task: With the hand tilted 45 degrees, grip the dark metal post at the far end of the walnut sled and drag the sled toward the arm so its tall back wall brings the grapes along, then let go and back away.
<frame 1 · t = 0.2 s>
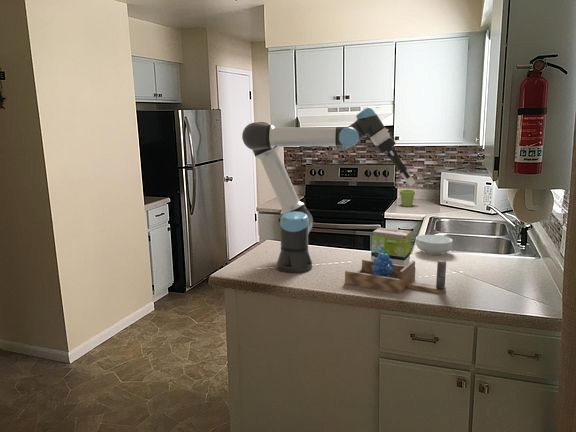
hand: (411, 182, 207), 36 cm above the worktop, tool tilted 35°, fingers open, 13 cm apart
plant pot: (406, 206, 355), on the worktop
tea box: (390, 264, 215), on the worktop
grapes: (383, 283, 190), resting in walnut sled
walnut sled: (397, 270, 186), point 6 cm above the worktop, slide at 0.0 cm
cereal bowl: (433, 253, 232), on the worktop
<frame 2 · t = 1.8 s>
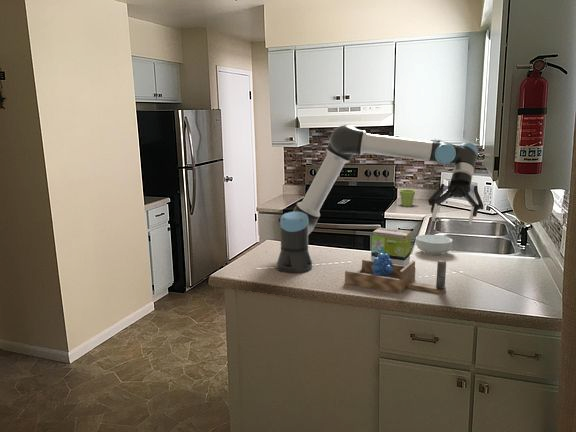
hand: (451, 221, 184), 25 cm above the worktop, tool tilted 45°, fingers open, 13 cm apart
nothing on the worktop moved.
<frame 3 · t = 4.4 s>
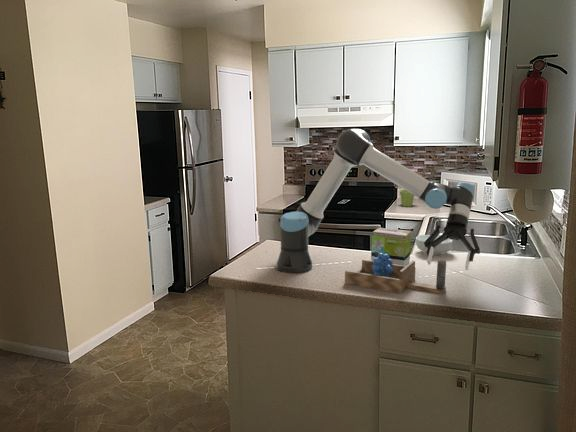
hand: (447, 265, 181), 9 cm above the worktop, tool tilted 45°, fingers open, 13 cm apart
nothing on the worktop moved.
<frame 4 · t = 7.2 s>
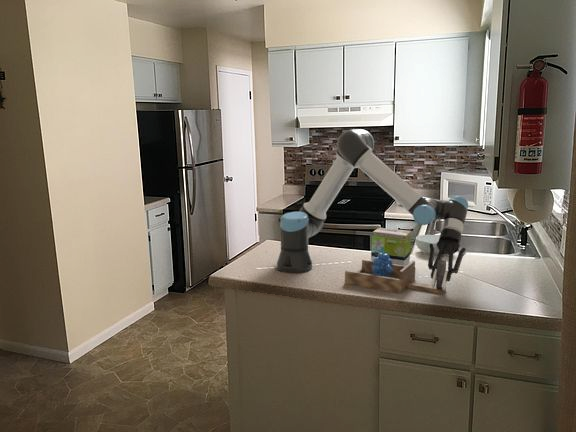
hand: (437, 287, 176), 3 cm above the worktop, tool tilted 45°, fingers closed on walnut sled, 3 cm apart
walnut sled: (397, 270, 186), point 6 cm above the worktop, slide at 0.0 cm, touching gripper
everything else where it was.
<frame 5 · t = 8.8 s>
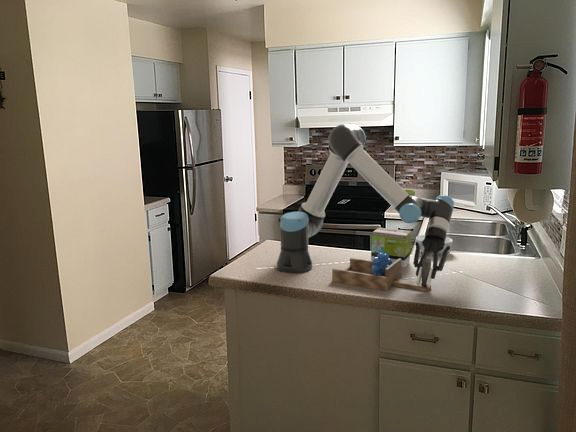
hand: (422, 284, 178), 3 cm above the worktop, tool tilted 45°, fingers closed on walnut sled, 3 cm apart
grapes: (383, 283, 190), resting in walnut sled
walnut sled: (384, 267, 189), point 6 cm above the worktop, slide at 5.4 cm, touching gripper
everything else where it was.
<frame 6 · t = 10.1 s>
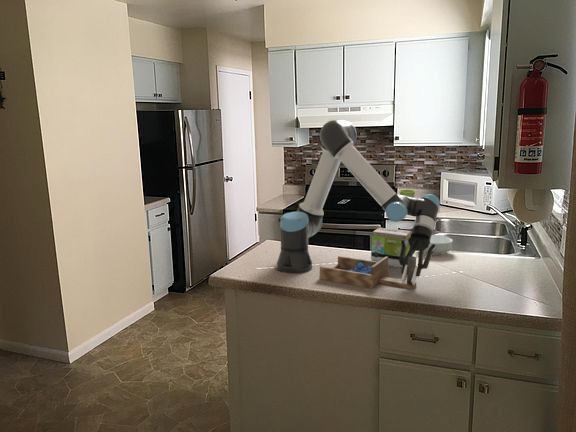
hand: (407, 282, 181), 3 cm above the worktop, tool tilted 45°, fingers closed on walnut sled, 3 cm apart
grapes: (376, 268, 195), point 4 cm above the worktop
walnut sled: (370, 265, 192), point 6 cm above the worktop, slide at 11.0 cm, touching gripper
everything else where it was.
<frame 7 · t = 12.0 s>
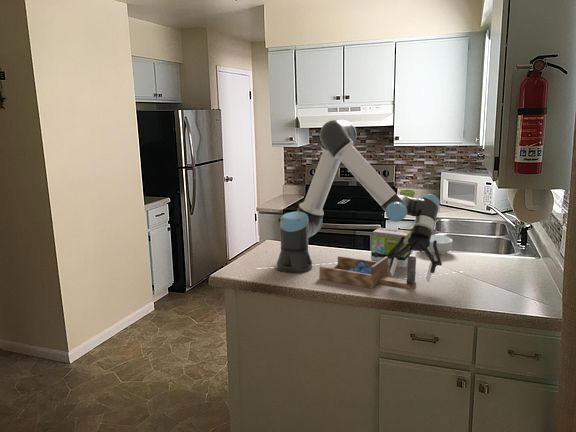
hand: (409, 277, 182), 5 cm above the worktop, tool tilted 45°, fingers open, 13 cm apart
walnut sled: (370, 265, 192), point 6 cm above the worktop, slide at 11.0 cm
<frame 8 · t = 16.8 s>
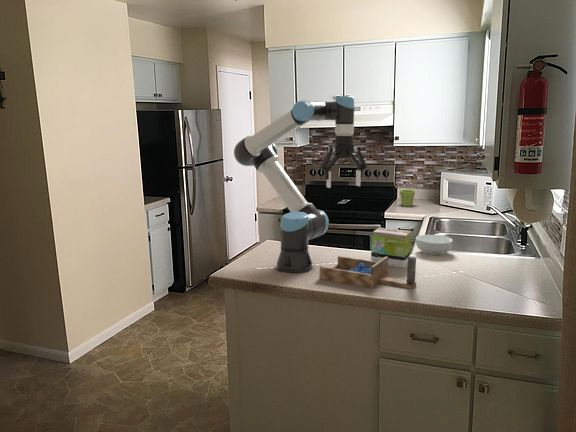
hand: (343, 186, 204), 35 cm above the worktop, tool pointing down, fingers open, 13 cm apart
nothing on the worktop moved.
at the end: walnut sled slide at 11.0 cm; grapes moved 7.0 cm from its start; grapes 8.9 cm from the walnut sled (horizontally) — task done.
